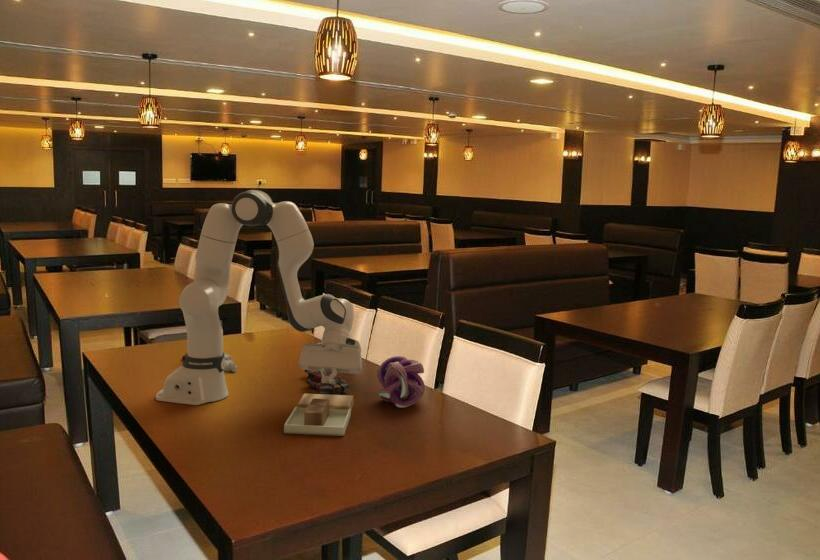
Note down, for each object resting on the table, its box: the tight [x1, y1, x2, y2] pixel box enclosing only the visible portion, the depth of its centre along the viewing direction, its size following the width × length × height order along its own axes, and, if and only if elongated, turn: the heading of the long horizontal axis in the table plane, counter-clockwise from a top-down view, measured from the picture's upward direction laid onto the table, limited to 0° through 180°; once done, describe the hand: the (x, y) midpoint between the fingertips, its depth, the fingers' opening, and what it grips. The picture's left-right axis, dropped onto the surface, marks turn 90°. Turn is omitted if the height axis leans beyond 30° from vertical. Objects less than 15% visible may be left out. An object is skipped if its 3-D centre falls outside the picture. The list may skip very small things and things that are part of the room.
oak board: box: [297, 393, 354, 411], centre depth 197 cm, size 16×10×3 cm, turn 88°
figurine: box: [304, 370, 350, 395], centre depth 217 cm, size 13×6×30 cm
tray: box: [283, 405, 352, 437], centre depth 184 cm, size 17×16×2 cm
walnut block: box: [304, 398, 329, 426], centre depth 184 cm, size 5×5×12 cm
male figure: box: [224, 352, 238, 373], centre depth 238 cm, size 11×10×25 cm
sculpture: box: [376, 355, 426, 409], centre depth 205 cm, size 16×17×20 cm
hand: (326, 382), depth 195 cm, fingers closed
